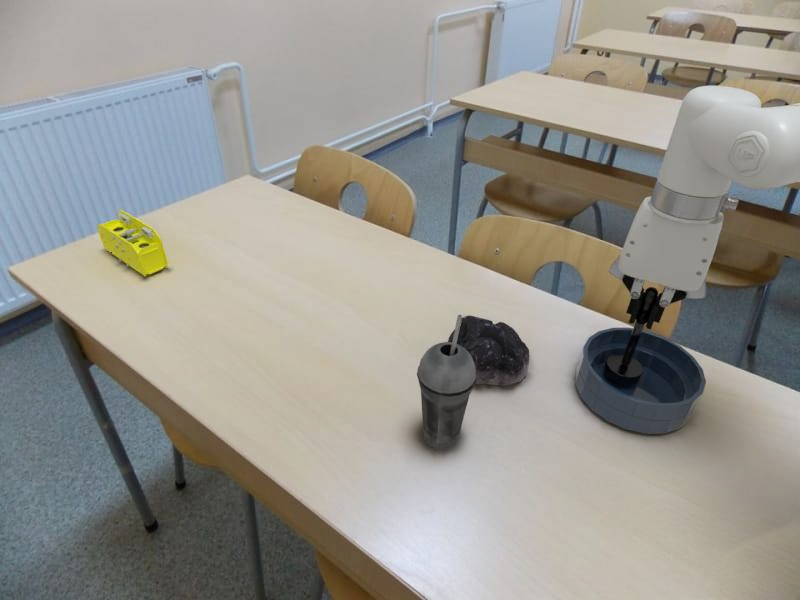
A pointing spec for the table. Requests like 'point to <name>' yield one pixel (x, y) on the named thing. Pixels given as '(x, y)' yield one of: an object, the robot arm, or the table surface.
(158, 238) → the yellow toy chassis
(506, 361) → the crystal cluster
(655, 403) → the bowl
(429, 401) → the beverage cup
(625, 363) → the disc-capped black rod
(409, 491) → the table surface
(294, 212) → the table surface
